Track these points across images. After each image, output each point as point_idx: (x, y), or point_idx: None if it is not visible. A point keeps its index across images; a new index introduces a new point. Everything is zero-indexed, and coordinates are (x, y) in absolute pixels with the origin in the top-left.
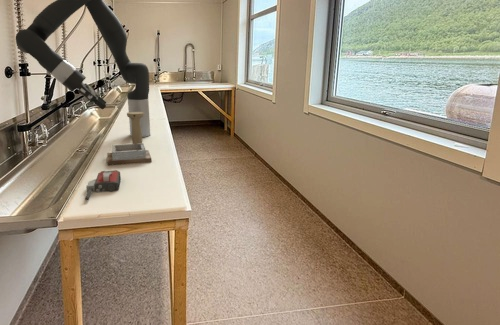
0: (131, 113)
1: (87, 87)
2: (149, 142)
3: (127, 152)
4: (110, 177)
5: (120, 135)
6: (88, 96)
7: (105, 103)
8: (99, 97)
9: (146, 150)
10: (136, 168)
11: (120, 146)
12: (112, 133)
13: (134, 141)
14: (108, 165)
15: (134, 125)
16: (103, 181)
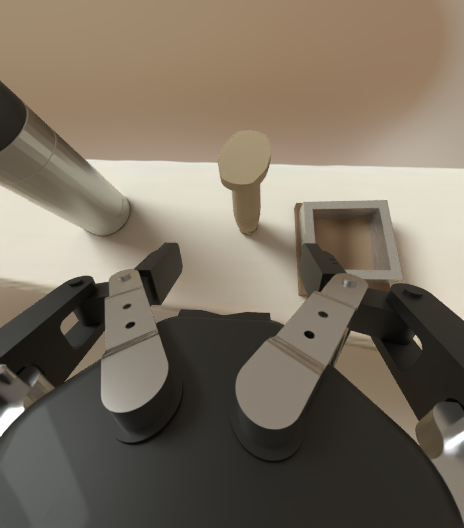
0: (254, 168)
1: (309, 405)
2: (187, 200)
3: (393, 242)
4: None
5: (86, 258)
6: (333, 364)
7: (177, 249)
8: (156, 270)
9: (298, 207)
10: (416, 238)
11: None
12: (53, 276)
13: (256, 222)
14: None
15: (258, 193)
16: None
